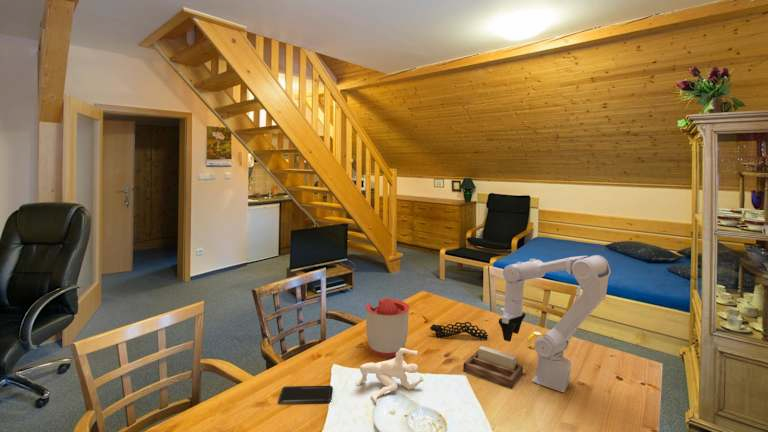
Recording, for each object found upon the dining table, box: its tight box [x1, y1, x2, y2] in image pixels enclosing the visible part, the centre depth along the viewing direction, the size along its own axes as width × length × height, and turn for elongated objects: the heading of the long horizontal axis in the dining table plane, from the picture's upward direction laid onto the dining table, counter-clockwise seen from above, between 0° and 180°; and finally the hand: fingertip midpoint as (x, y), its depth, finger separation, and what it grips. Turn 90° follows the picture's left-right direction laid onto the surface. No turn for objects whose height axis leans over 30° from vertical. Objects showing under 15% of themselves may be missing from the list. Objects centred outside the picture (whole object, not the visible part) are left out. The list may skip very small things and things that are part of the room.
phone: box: [277, 385, 334, 406], centre depth 115 cm, size 8×1×15 cm
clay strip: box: [477, 345, 517, 371], centre depth 131 cm, size 12×2×5 cm, turn 53°
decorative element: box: [429, 321, 489, 340], centre depth 155 cm, size 22×5×6 cm, turn 86°
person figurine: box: [354, 347, 425, 404], centre depth 120 cm, size 13×13×18 cm
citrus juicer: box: [365, 297, 410, 359], centre depth 143 cm, size 16×17×20 cm
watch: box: [527, 331, 544, 349], centre depth 147 cm, size 6×3×6 cm, turn 88°
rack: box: [462, 350, 524, 389], centre depth 130 cm, size 16×11×3 cm
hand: (511, 336), depth 135 cm, fingers open, 7 cm apart
